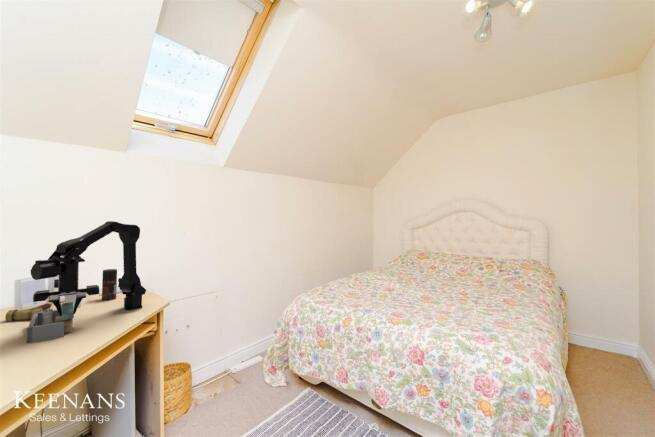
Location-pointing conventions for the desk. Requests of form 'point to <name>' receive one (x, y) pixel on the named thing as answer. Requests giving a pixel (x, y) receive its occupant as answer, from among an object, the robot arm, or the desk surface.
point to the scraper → (66, 316)
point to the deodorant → (109, 284)
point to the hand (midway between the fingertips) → (67, 314)
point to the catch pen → (44, 328)
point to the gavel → (25, 313)
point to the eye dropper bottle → (71, 299)
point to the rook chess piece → (47, 316)
